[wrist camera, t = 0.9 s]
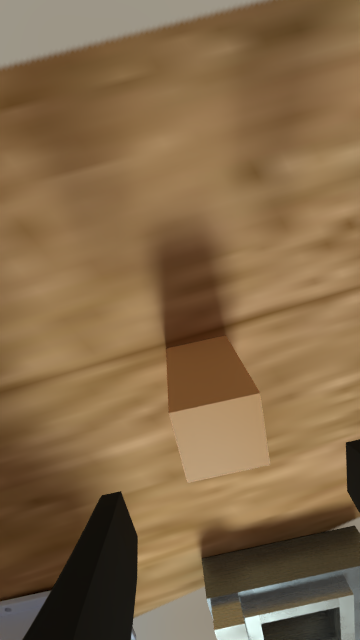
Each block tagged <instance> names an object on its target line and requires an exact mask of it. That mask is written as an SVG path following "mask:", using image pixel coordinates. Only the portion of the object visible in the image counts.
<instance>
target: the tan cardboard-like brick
mask: <svg viewBox="0 0 360 640" xmlns="http://www.w3.org/2000/svg"><path fill="white" fill-rule="evenodd" d="M166 358H167V382H168V406H169V416H170V419H171V423H172V427H173V431H174V434H175V438H176V442H177V446H178V449H179V453H180V457H181V461H182V464H183V468H184V472H185V476H186V479H187V483H189V482H194V481H198V480H203V479H207V478H212V477H217V476H221V475H226V474H230V473H235V472H239V471H244V470H249V469H253V468H258V467H262V466H267V465H270V459H269V452H268V445H267V438H266V431H265V424H264V416H263V409H262V402H261V395H260V392H259V390H258V389H257V387H256V385H255V384H254V382H253V380H252V379H251V377H250V375H249V373H248V372H247V370H246V368H245V367H244V365H243V363H242V362H241V360H240V358H239V357H238V355H237V353H236V352H235V350H234V348H233V347H232V345H231V343H230V342H229V340H228V338H227V337H226V335H225V336H220V337H216V338H211V339H207V340H202V341H198V342H193V343H189V344H184V345H180V346H175V347H171V348H166Z"/></svg>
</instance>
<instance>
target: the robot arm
mask: <svg viewBox="0 0 360 640" xmlns="http://www.w3.org/2000/svg"><path fill="white" fill-rule="evenodd" d="M346 462H347V491H348V493H349V495H350V497H351V498H352V500H353V502H354V504H355V505H356V507H357V509H358V511H359V512H360V440H355V441H351V442H346ZM137 543H138V536H137V534H136V531H135V528H134V526H133V523H132V520H131V517H130V515H129V512H128V509H127V507H126V504H125V501H124V499H123V496H122V493H121V491H120V492H116V493H111V494H106V495H102V496H101V498H100V499H99V501H98V503H97V505H96V507H95V509H94V511H93V513H92V515H91V517H90V519H89V521H88V523H87V525H86V527H85V529H84V531H83V533H82V535H81V537H80V539H79V540H78V542H77V544H76V546H75V548H74V550H73V552H72V554H71V556H70V557H69V559H68V561H67V563H66V565H65V567H64V569H63V570H62V572H61V574H60V576H59V578H58V580H57V581H56V583H55V585H54V587H53V588H52V590H50V591H46V592H41V593H37V594H32V595H27V596H23V597H18V598H14V599H9V600H4V601H0V640H136V634H135V632H134V630H133V627H132V625H133V615H134V605H135V595H136V584H137Z"/></svg>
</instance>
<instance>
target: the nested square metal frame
mask: <svg viewBox="0 0 360 640" xmlns="http://www.w3.org/2000/svg"><path fill="white" fill-rule="evenodd" d="M202 565H203V573H204V581H205V589H206V597H207V602H208V605H209V609H210V612H211V616H212V619H213V623H214V630H215V634H216V637H217V640H360V533H359V532H358V530H357V529H356V527H355V526H351V527H346V528H341V529H337V530H332V531H327V532H323V533H318V534H314V535H309V536H304V537H300V538H295V539H291V540H286V541H281V542H277V543H272V544H268V545H263V546H258V547H254V548H249V549H245V550H240V551H235V552H231V553H226V554H222V555H217V556H212V557H208V558H203V559H202Z"/></svg>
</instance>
